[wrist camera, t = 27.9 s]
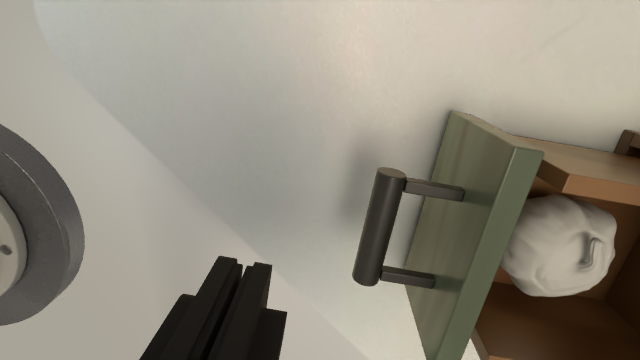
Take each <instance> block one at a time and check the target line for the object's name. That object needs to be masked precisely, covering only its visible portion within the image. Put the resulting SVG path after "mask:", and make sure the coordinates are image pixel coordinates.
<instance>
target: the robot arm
mask: <svg viewBox="0 0 640 360" xmlns="http://www.w3.org/2000/svg"><path fill="white" fill-rule="evenodd" d="M26 259H27V249H26V241H25V237H24V234H23V230H22V227H21V225H20V223H19V221H18V219H17V217H16V215H15V213H14V212H13V211H12V209H11V208H10V206H9V205H8V204H7V202H6V201H5V199H4V198H3V197H2V196H1V195H0V296H1V295H3V294H4V293H5V292H7V291H8V290H9V289H11V288H12V287H13V286H14V285H15V284H16V283H17V281H18V280H19V279H20V278H21V276H22V273H23V271H24V269H25V265H26ZM242 269H243V265H242V264H237V259H235V258H230V257H224V256H219V257H218V258H217V260H216V262H215V263H214V265H213V267H212V269H211V270H210V272H209V274H208V275H207V277H206V279H205V281H204V283H203V284H202V286H201V287H200V289H199V291H198V293H197V294H196V296H193V295H187V294H182V295H181V296H180V297H179V299H178V300H177V302H176V303H175V305H174V306H173V308H172V310H171V311H170V313H169V314H168V316H167V317H166V319H165V320H164V322H163V324H162V325H161V327H160V328H159V330H158V331H157V333H156V334H155V336H154V338H153V339H152V341H151V342H150V344H149V345H148V347H147V349H146V350H145V352H144V353H143V355H142V356H141V358H140V359H139V360H279V356H280V351H281V346H282V340H283V335H284V329H285V323H286V317H287V312H284V311H279V310H273V309H267V308H266V306H267V299H268V292H269V286H270V279H271V272H272V265H269V264H263V263H258V262H255V263H254V265H253V266H247V267H246V269H245V272H244V274H243V276H242ZM241 278H242V279H241Z"/></svg>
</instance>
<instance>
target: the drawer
mask: <svg viewBox="0 0 640 360" xmlns="http://www.w3.org/2000/svg"><path fill="white" fill-rule="evenodd" d="M403 191H404V192H405V193H411V194H417V195H423V196H426V198H425V201H424V205H423V208H422V211H421V215H420V218H419V222H418V225H417V228H416V232H415V235H414V238H413V242H412V245H411V248H410V252H409V255H408V258H407V262H406V265H405V269H401V268H395V267H389V266H383V262H384V259H385V255H386V251H387V248H388V244H389V240H390V237H391V233H392V229H393V226H394V222H395V218H396V215H397V211H398V207H399V203H400V200H401V196H402V192H403ZM553 194H559V195H563V196H566V197H568V198H569V199H571V200H581V201H585V202H589V203H591V204H593V205H595V206H597V207H599V208H602V209H604V210H606V211H608V212H609V213H610V214H612V215H613V217H614V218H615V220H616V224H617V230H616V233H615V237H614V249H615V257H614V258H613V260H612V261H611V263H610V265H609V268H608V272H607V274H606V275H605V276H604V277H603V278H602V280H601V281H600V282H599V283H598V284H596V285H594V286H593V287H591V288H590V289H589V290H587V291H582V292H579V293H577V294H574V295H568V296H558V297H545V296H530V295H528V294H525V293H524V292H522V291H521V290H520V289H519V288H518V287H517V286H516V285H515V284H514V283H513V282H512V280H511V278H510V276H509V274H508V273H507V272H506V271H505V270H504V269H503V268H502V267H501V266H500V263H501V260H502V258H503V255H504V253H505V250H506V248H507V245H508V243H509V240H510V238H511V235H512V233H513V230H514V228H515V226H516V223H517V221H518V218H519V216H520V213H521V211H522V208H523V206H524V203H525V201H526V199H533V198H537V197H546V196H548V195H553ZM352 277H353V279H354V280H355V281H356V282H357V283H359V284H361V285H364V286H374V285H376V284H377V283H378V281H379V278H380V280H381V281H387V282H393V283H399V284H405V288H406V291H407V295H408V298H409V301H410V305H411V308H412V312H413V315H414V319H415V322H416V325H417V329H418V332H419V336H420V339H421V343H422V346H423V349H424V353H425V356H426V360H461V359H462V356H463V354H464V351H465V349H466V346H467V344H468V341H469V339H470V338H471V340H472V342H473V344H474V346H475V349H476V351H477V353H478V355H479V357H480V359H481V360H640V158H638V157H632V156H627V155H621V154H616V153H610V152H604V151H599V150H593V149H587V148H582V147H576V146H571V145H565V144H559V143H554V142H548V141H542V140H537V139H531V138H525V137H520V136H514V135H510V134H508V133H506V132H504V131H502V130H501V129H499V128H497V127H495V126H493V125H491V124H489V123H487V122H485V121H483V120H481V119H479V118H477V117H475V116H473V115H471V114H466V113H460V112H454V111H452V112H451V114H450V117H449V121H448V124H447V127H446V131H445V134H444V138H443V141H442V144H441V148H440V151H439V154H438V158H437V161H436V164H435V168H434V171H433V174H432V178H431V181H425V180H419V179H413V178H407V176H406V174H405V173H403V172H401V171H399V170H396V169H393V168H386V167H382V168H378V169H377V172H376V176H375V181H374V185H373V189H372V193H371V197H370V202H369V206H368V210H367V214H366V218H365V223H364V227H363V231H362V235H361V239H360V243H359V248H358V252H357V256H356V260H355V264H354V269H353V273H352Z"/></svg>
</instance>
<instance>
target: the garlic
mask: <svg viewBox="0 0 640 360" xmlns="http://www.w3.org/2000/svg"><path fill="white" fill-rule="evenodd" d="M616 230H617V224H616V220H615V218H614V217H613V215H612V214H610V213H609V212H608V211H606V210H604V209H602V208H599V207H597V206H595V205H593V204H591V203H589V202H585V201H581V200H571V199H569V198H568V197H566V196H563V195H559V194H553V195H548V196H546V197H537V198H533V199H526V201H525V203H524V206H523V208H522V211H521V213H520V216H519V218H518V221H517V223H516V226H515V228H514V230H513V233H512V235H511V238H510V240H509V243H508V245H507V248H506V250H505V253H504V255H503V258H502V260H501V263H500V266H501V267H502V268H503V269H504V270H505V271H506V272H507V273H508V274H509V276H510V278H511V280H512V282H513V283H514V284H515V285H516V286H517V287H518V288H519V289H520V290H521V291H522V292H524V293H525V294H528V295H530V296H545V297H558V296H568V295H574V294H577V293H579V292H582V291H587V290H589V289H590V288H591V287H593V286H594V285H596V284H598V283H599V282H600V281H601V280H602V278H603V277H604V276H605V275H606V274H607V272H608V268H609V265H610V263H611V261H612V260H613V258H614V257H615V249H614V237H615V233H616Z"/></svg>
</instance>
